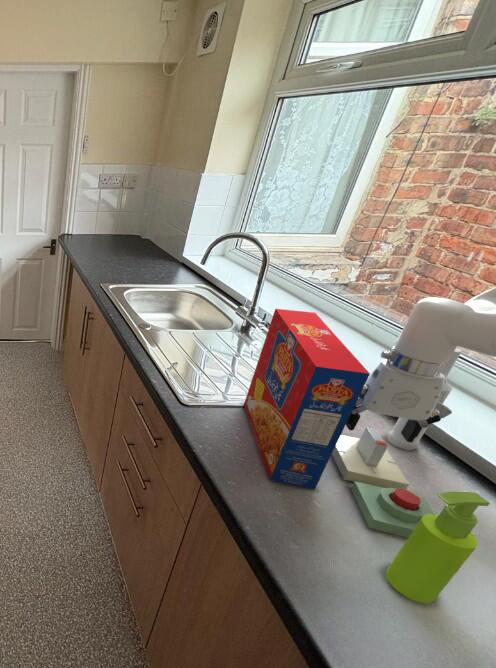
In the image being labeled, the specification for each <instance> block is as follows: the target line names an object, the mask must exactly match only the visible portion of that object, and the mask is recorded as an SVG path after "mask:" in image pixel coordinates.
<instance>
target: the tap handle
mask: <svg viewBox="0 0 496 668" xmlns="http://www.w3.org/2000/svg"><path fill="white" fill-rule="evenodd" d="M359 439H360V440H359V442H358V444H357V446H356V447H357V448H358V450H359V452H360V454H361V456H362V457H363V459H364V461H365V463H366V464H367V465H371V466H376V467H377V465H378V464H379V462H380V460H381V458H382V456H383V455H384V453H385V451H386V449H387V450H388V444H387V442H386V441H385V440H384V438H383V436H382V435H381V434H380V433H379V431H378V430H377V428H373V427H368V426H366V427H365V429H364V431H362V435H361V436H360V438H359Z"/></svg>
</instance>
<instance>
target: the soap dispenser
mask: <svg viewBox="0 0 496 668" xmlns="http://www.w3.org/2000/svg"><path fill="white" fill-rule="evenodd" d="M436 495H437V497H438V498H439V499H441V500H442V501H443V502H444V503H446V504H445V505H444V507H443V508H442V510H441V511H440V512H439V514H436V513H435V514H426V515H424V516H423V517H422V518H421V520H420V521H419V523H418V524H417V526H416V527H415V529H414V530H413V532H412V533H411V535H410V536H409V538H407V539H406V541H405V542H404V543H403V545H402V547H401V548H400V550H399V551H398V553H397V554H396V556H394V558H393V560H392V562H391V563H390V565H389V566H388V568H387V569H386V570H385V578H386V580H387V582H389V584H390V585H391V586H392V588H394V590H396V591H397V592H398V593H399V594H401V595H402V596H404V597H405V598H407V599H409V600H411V601H414V602H417V603H421V604H431V603H433V602H434V601H435V600H436V599H437V598H438V596H439V595H440V594H441V593H442V591H443V590H444V589H445V587H447V585H448V584H449V582H450V581H451V580H452V579H453V577H454V576H455V575H456V574H457V572H458V571H459V570H460V569H461V567H462V566H463V565H464V564H465V562H466V561H467V560H468V558H469V557H470V556H471V555H472V554H473V552H474V551H475V550H476V549H477V548H478V545H479V541H478V539H477V537H476V536H475V535H474V533H473V532H472V531H473V530H474V528H475V527H476V526H477V524H478V522H479V519H478V517H477V516H476V515H475V514H474V512H475V511H476V510H477V508H479V507H488V506H489V505H490V502H489V501H488V500H486V499H485V497H483V496H481V495H480V494H479V493H478V492H472V491H444V492H439V493H436Z"/></svg>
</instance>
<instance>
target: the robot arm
mask: <svg viewBox="0 0 496 668" xmlns="http://www.w3.org/2000/svg"><path fill="white" fill-rule="evenodd" d="M457 347H459V348H462V349H463V348H464V349H465V350H470V351H473V352H475V353H479V354H482V355H486V356H490V357H494V358H496V286H495V287H492V288H490V289H488V290H486V291H483V292H481V293H479V294H477V295H476V296H473V297H472V298H471V299H469V300H467V301H466V302H464V303H463V302H460V301H458V300H454V299H449V298H444V297H426V298H422V299H420V300H419V301H417V303H415V305H414V307H413V308H412V310H411V312H410V315H409V317H407V320H406V322H405V324H404V326H403V328H402V330H401V332H400V334H399V335H398V338H397V339H396V341H395V343H394V345H393V347H391V349H390V350H389V351H384V350H383V351H381V352H380V358H381V359H382V361H380V362H379V364H377V366H376V367H375V368H374V369H373V371H372V372H371V373H370V375H369V377H368V379H367V381H366V383H365V385H364V387H363V390H362V392H361V394H360V396H359V398H358V400H357V402H356V404H355V406H354V408H353V410H352V413H351V415H350V417H349V419H348V421H347V423H346V425H345V427H346V428H347V429H348V430H349V431H354V430H355V429H356V426H357V424H358V422H359V421H360V419H361V413H364V412H366V411H369V412H370V413H376V414H379V415H385V416H390V417H394V418H395V417H396V418H399V417H400V418H405V419H408V421H407V423H406V425H405V426H404V428H403V430H402V431H401V434H402V435H403V437H404V438H405V440H406V441H407V442H410V443H412V442H413V440H414V438H416V437H417V436H418V435H419V433H420V431H421V430H422V428H426V427H428V428H429V426H430V425H432V424H435V423H439V422H441V421H442V419H444V418H446V417H448V416H450V415H451V414H452V413H453V411H452V410H451V409H450V407H448V406H447V405H445V404H444V403H443V404H442V403H440V402H439V401H438V400H439V397H440V395H441V392H442V389H443V385H444V381H445V376H444V375H443V374H442V373H441V372H442V371H443V369H444V367H445V365H446V364H447V362H448V361H449V359H450V357H451V356H452V354H453V352H454V350H455V349H456V348H457ZM434 408H435V409H436V411H434V412H433V410H434ZM428 425H429V426H428Z"/></svg>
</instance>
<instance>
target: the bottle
mask: <svg viewBox="0 0 496 668" xmlns="http://www.w3.org/2000/svg"><path fill="white" fill-rule="evenodd" d="M462 352H463V351H462V349H459V348H457V347H456V349H455V350H454V352H453V354H452V356H451V357H450V359H449V361H448V362H447V364H446V365H445V367H444V369H443V371H442V372H441V373H442V374H443V375H444V376H445V381H444V385H443V389H442V392H441V395H440V397H439V400H438V401H439V402H440V403H442V404H443V405H444V402H445V401H446V399H447V398H448V396H449V395H450V393H451V391H452V390H453V388H452V385H450V384H449V382H448V378H447V377H448V375H449V374H450V372H451V370H452V368H453V367H454V365H455V363H456V362H457V361H458V359H459V357H460V355H462ZM434 411H436V409H435V408H434V410H433V412H434ZM407 421H408V419H405V418H400V417H398V419H397V421H396V423H395V425H394V427H393V429H392V430H390V431H389V433H388V435H387V441H388V442H389V443H390V444H391V445H393V446H395V447H396V448H399V449H402V450H406V451H413V450H416V449H417V448H418V447H419V445H420V440H421V439H422V437H423V436H424V434H425V433H426V431H427V429H428V428H429V426H430V424H429V425H428V427H426V428H422V430H421V431H420V433H419V435H418V436H417V437H416V438H414V440H413V442H412V443H410V442H407V441H406V440H405V438H404V437H403V435H402V434H401V431H402V430H403V428H404V426H405V425H406V423H407Z"/></svg>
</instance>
